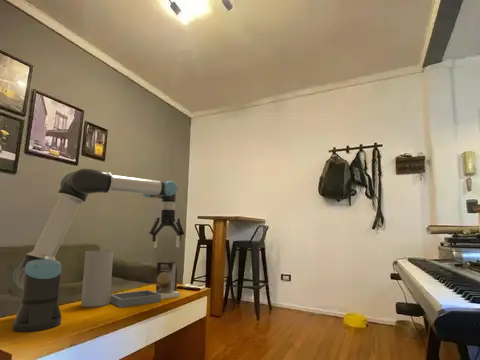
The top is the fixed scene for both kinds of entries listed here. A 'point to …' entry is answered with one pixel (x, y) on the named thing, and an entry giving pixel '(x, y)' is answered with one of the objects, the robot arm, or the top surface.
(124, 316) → the top surface
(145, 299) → the bin
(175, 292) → the board
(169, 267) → the coffee box
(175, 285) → the brown box
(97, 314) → the top surface
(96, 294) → the cylinder vase
